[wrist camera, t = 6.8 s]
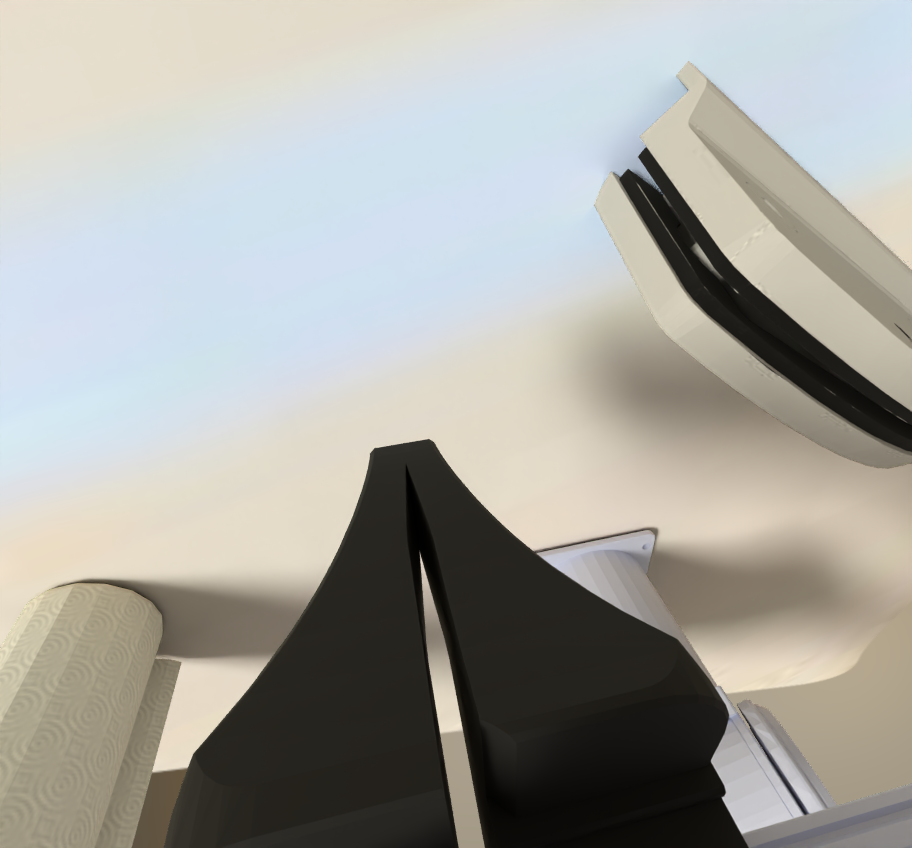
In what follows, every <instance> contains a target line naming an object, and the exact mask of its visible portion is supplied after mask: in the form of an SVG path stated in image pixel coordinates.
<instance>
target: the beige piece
mask: <svg viewBox="0 0 912 848" xmlns="http://www.w3.org/2000/svg"><path fill="white" fill-rule="evenodd" d="M676 76H677V77H678V79H679V80H680V81H681V82H682V83H683V84H684V85H685V86H686V88H687V89H688V90H689V91H688V92H687V93H686V94H685V95H684V96H683V97H682V98H681V99H680V100H678V101H677V102H676V103H675V104H674V105H673V106H672V107H671V108H670V109H669V110H668V111H667V112H666V113H664V114H663V115H662V116H661V117H660V118H659V119H658V120H657V121H656V122H655V123H654V124H653V125H652V126H650V127H649V128H648V129H647V130H646V131H645V132H644V133H643V134H642V135H641V136H640V138H641V140H642V141H643V143H644V144H645V145H646V148H645V149H644V150H643V151H642V152H641V154H640V155H639V156H638V157H639V159H640V160H641V162H642V163H643V165H644V166H645V168H646V169H647V171H648V172H649V174H650V175H651V176H652V178H653V179H654V181H655V182H656V184H657V185H658V187H659V188H660V190H661V191H662V193H663V194H664V195H663V196H662V195H661V193H660V192H658V191H657V190H656V189H654V188H653V187H652V186H650V185H649V184H648V183H646V182H645V181H644V180H642V179H641V178H640V177H638V176H637V175H636V174H634V173H633V172H632V171H630V170H629V169H627V170H626V172H625V173H624V174H623V175H622V176H621V177H618V176H617V175H615V174H614V173H613V172H610V174H609V175H608V177H607V179H606V181H605V182H604V184H603V186H602V188H601V189H600V191H599V194H598V196H597V199H596V201H595V204H594V206H595V208H596V210H597V211H598V213H599V215H600V217H601V219H602V221H603V223H604V225H605V227H606V229H607V230H608V232H609V234H610V236H611V238H612V240H613V242H614V244H615V246H616V247H617V249H618V251H619V253H620V255H621V257H622V259H623V261H624V263H625V265H626V266H627V268H628V270H629V272H630V274H631V276H632V278H633V280H634V282H635V284H636V285H637V287H638V289H639V291H640V293H641V295H642V297H643V299H644V301H645V303H646V304H647V306H648V308H649V310H650V312H651V314H652V316H653V318H654V319H655V321H656V323H657V324H658V325H659V326H660V328H661V329H662V330H663V331H664V332H665V334H666V335H667V336H668V337H669V338H670V339H671V340H672V341H674V342H675V343H676V344H677V345H678V346H680V347H681V348H682V349H683V350H685V351H686V352H687V353H688V354H689V355H691V356H692V357H693V358H694V359H696V360H697V361H698V362H699V363H701V364H702V365H703V366H704V367H706V368H707V369H708V370H709V371H711V372H712V373H713V374H715V375H716V376H717V377H719V378H720V379H721V380H722V381H724V382H725V383H726V384H728V385H729V386H730V387H732V388H733V389H734V390H736V391H737V392H739V393H740V394H741V395H743V396H744V397H746V398H747V399H749V400H750V401H751V402H753V403H754V404H756V405H757V406H759V407H760V408H762V409H763V410H764V411H766V412H767V413H769V414H770V415H772V416H773V417H774V418H776V419H777V420H779V421H780V422H782V423H783V424H785V425H787V426H788V427H790V428H792V429H793V430H795V431H797V432H798V433H800V434H802V435H803V436H805V437H807V438H809V439H810V440H812V441H814V442H815V443H817V444H819V445H820V446H822V447H824V448H826V449H828V450H830V451H832V452H834V453H836V454H838V455H840V456H843V457H845V458H848V459H850V460H853V461H856V462H858V463H861V464H864V465H867V466H871V467H876V468H893V467H898V466H902V465H906V464H911V463H912V270H911V269H910V268H909V267H908V266H906V265H905V264H904V263H903V262H902V261H901V260H900V259H899V258H898V257H897V256H896V255H895V254H894V253H893V252H892V251H891V250H889V249H888V248H887V247H886V246H885V245H884V244H883V243H882V242H881V241H880V240H879V239H878V238H877V237H876V236H875V235H873V234H872V233H871V232H870V231H869V230H868V229H867V228H866V227H865V226H864V225H863V224H862V223H861V222H860V221H859V220H858V219H856V218H855V217H854V216H853V215H852V214H851V213H850V212H849V211H848V210H847V209H846V208H845V207H844V206H843V205H842V204H841V203H839V202H838V201H837V200H836V199H835V198H834V197H833V196H832V195H831V194H830V193H829V192H828V191H827V190H826V189H825V188H823V187H822V186H821V185H820V184H819V183H818V182H817V181H816V180H815V179H814V178H813V177H812V176H811V175H810V174H809V173H808V172H806V171H805V170H804V169H803V168H802V167H801V166H800V165H799V164H798V163H797V162H796V161H795V160H794V159H793V158H792V157H790V156H789V155H788V154H787V153H786V152H785V151H784V150H783V149H782V148H781V147H780V146H779V145H778V144H777V143H776V142H775V141H773V140H772V139H771V138H770V137H769V136H768V135H767V134H766V133H765V132H764V131H763V130H762V129H761V128H760V127H759V126H758V125H756V124H755V123H754V122H753V121H752V120H751V119H750V118H749V117H748V116H747V115H746V114H745V113H744V112H743V111H742V110H740V109H739V108H738V107H737V106H736V105H735V104H734V103H733V102H732V101H731V100H730V99H729V98H728V97H727V96H726V95H725V94H723V93H722V92H721V91H720V90H719V89H718V88H717V87H716V86H715V85H714V84H713V83H712V82H711V81H710V80H709V79H707V78H706V77H705V76H704V75H703V74H702V73H701V72H700V71H699V70H698V69H697V68H696V67H695V66H694V65H693V64H692V63H690V62H689V61H688V62H687V63H686V64H685V65H684V67H683V68H682V69H681V70H680V72H679V73H678V74H677V75H676Z"/></svg>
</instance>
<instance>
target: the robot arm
mask: <svg viewBox="0 0 912 848" xmlns="http://www.w3.org/2000/svg"><path fill="white" fill-rule="evenodd" d="M654 542H655V535H654V534H653V532H652V531H650V530H645V531H640V532H635V533H630V534H625V535H621V536H616V537H611V538H606V539H601V540H597V541H592V542H587V543H582V544H577V545H573V546H568V547H563V548H558V549H554V550H549V551H544V552H539V553H535V552H534V551H532V550H531V549H530V548H529V547H527V546H526V545H525V544H524V543H523V542H522V541H520V540H519V539H518V538H517V537H516V536H514V535H513V534H512V533H511V532H510V531H509V530H508V529H507V528H505V527H504V526H503V525H502V524H501V523H500V522H499V521H498V520H497V519H496V518H495V517H494V516H493V515H492V514H491V513H490V512H489V511H488V510H487V509H486V508H485V507H484V506H483V505H482V504H481V503H480V502H479V501H478V500H477V499H476V497H475V496H474V495H473V494H472V493H471V492H470V491H469V489H468V488H467V487H466V486H465V485H464V484H463V483H462V481H461V480H460V479H459V478H458V477H457V475H456V474H455V473H454V471H453V470H452V469H451V467H450V466H449V465H448V464H447V462H446V461H445V459H444V458H443V456H442V455H441V453H440V452H439V450H438V448H437V447H436V445H435V443H434V442H433V441H431V440H430V439H427V440H421V441H415V442H409V443H403V444H397V445H391V446H386V447H380V448H374V450H373V451H372V452H371V453H370V460H369V465H368V470H367V474H366V478H365V482H364V485H363V489H362V492H361V495H360V497H359V500H358V503H357V506H356V509H355V512H354V514H353V517H352V519H351V522H350V524H349V526H348V529H347V531H346V533H345V536H344V538H343V540H342V542H341V545H340V547H339V549H338V551H337V553H336V555H335V557H334V559H333V561H332V563H331V565H330V567H329V569H328V571H327V573H326V575H325V577H324V578H323V580H322V582H321V584H320V586H319V587H318V589H317V591H316V593H315V594H314V596H313V597H312V599H311V601H310V602H309V604H308V606H307V607H306V609H305V610H304V612H303V614H302V615H301V617H300V618H299V620H298V622H297V623H296V625H295V626H294V628H293V629H292V631H291V632H290V634H289V635H288V636H287V638H286V639H285V641H284V642H283V643H282V645H281V646H280V647H279V649H278V650H277V652H276V653H275V654H274V656H273V657H272V658H271V660H270V661H269V662H268V664H267V665H266V666H265V668H264V669H263V671H262V672H261V673H260V675H259V676H258V677H257V679H256V680H255V681H254V683H253V684H252V685H251V686H250V688H249V689H248V690H247V691H246V693H245V694H244V695H243V696H242V698H241V699H240V700H239V701H238V702H237V703H236V705H235V706H234V707H233V708H232V709H231V711H230V712H229V713H228V714H227V715H226V716H225V718H224V719H223V720H222V721H221V722H220V723H219V725H218V726H217V727H216V728H215V729H214V731H213V732H212V733H211V734H210V735H209V736H208V738H207V739H206V740H205V741H204V742H203V743H202V745H201V746H200V747H199V748H198V749H197V750H196V751H195V753H194V754H193V756H192V759H191V761H190V764H189V767H188V769H187V772H186V775H185V778H184V780H183V783H182V786H181V789H180V792H179V796H178V798H177V801H176V804H175V807H174V810H173V813H172V816H171V820H170V824H169V827H168V832H167V836H166V841H165V845H164V848H458V842H457V836H456V829H455V823H454V817H453V811H452V805H451V798H450V792H449V786H448V780H447V774H446V768H445V762H444V755H443V749H442V743H441V737H440V731H439V725H438V718H437V712H436V706H435V700H434V694H433V688H432V681H431V675H430V669H429V663H428V654H427V645H426V633H425V619H424V605H423V591H422V577H421V564H420V554H421V558H422V561H423V565H424V568H425V572H426V575H427V579H428V582H429V586H430V589H431V593H432V596H433V600H434V603H435V607H436V610H437V614H438V617H439V621H440V624H441V628H442V631H443V635H444V638H445V642H446V646H447V651H448V655H449V659H450V664H451V669H452V675H453V680H454V685H455V690H456V696H457V701H458V706H459V711H460V717H461V722H462V727H463V733H464V737H465V743H466V749H467V754H468V759H469V764H470V770H471V775H472V781H473V786H474V791H475V796H476V802H477V807H478V812H479V818H480V824H481V829H482V835H483V840H484V845H485V848H912V784H908V785H905V786H902V787H898V788H895V789H892V790H888V791H885V792H881V793H878V794H874V795H871V796H868V797H864V798H861V799H858V800H854V801H851V802H847V803H844V804H841V805H837V804H836V803H835V801H834V800H833V798H832V797H831V795H830V794H829V792H828V791H827V789H826V788H825V786H824V785H823V784H822V782H821V780H820V779H819V777H818V776H817V775H816V773H815V772H814V770H813V769H812V767H811V766H810V765H809V763H808V762H807V760H806V759H805V757H804V756H803V755H802V753H801V752H800V750H799V749H798V747H797V746H796V745H795V743H794V742H793V741H792V739H791V738H790V736H789V735H788V734H787V732H786V731H785V730H784V728H783V727H782V726H781V724H780V723H779V722H778V720H777V719H776V718H775V717H774V716H773V714H772V713H771V712H770V711H769V710H768V709H767V708H765V707H763V706H760V705H758V704H753V703H752V702H751V701H750V700H747V699H745V700H743V701H742V702H740V703H738V704H737V706H738V708H739V710H740V711H741V713H742V715H743V716H744V718H745V719H746V721H747V723H748V724H749V726H750V729H751V731H752V733H753V734H754V736H755V738H756V739H757V741H758V742H759V744H760V746H761V747H762V749H763V750H764V752H765V753H764V752H763V750H762V749H761V747H760V746H759V744H758V743H757V741H756V740H755V738H754V737H753V735H752V734H751V732H750V730H749V729H748V727H747V726H746V724H745V723H744V721H743V720H742V719H741V717H740V715H739V714H738V712H737V711H736V709H735V708H734V706H733V704H732V703H731V701H730V700H729V699H728V697H727V695H726V694H725V692H724V691H723V689H722V687H721V686H717V684H716V683H715V681H714V680H713V678H712V677H711V675H710V673H709V672H708V670H707V669H706V667H705V666H704V664H703V663H702V661H701V659H700V658H699V656H698V655H697V653H696V652H695V650H694V648H693V647H692V645H691V644H690V642H689V641H688V639H687V638H686V636H685V634H684V633H683V631H682V630H681V628H680V627H679V625H678V624H677V622H676V620H675V619H674V617H673V616H672V614H671V613H670V611H669V610H668V608H667V606H666V605H665V603H664V602H663V600H662V599H661V597H660V596H659V594H658V592H657V591H656V589H655V588H654V586H653V585H652V583H651V582H650V580H649V578H648V577H647V571H648V567H649V563H650V559H651V555H652V550H653V546H654ZM419 550H420V551H419ZM765 754H766V755H767V756H766V755H765Z"/></svg>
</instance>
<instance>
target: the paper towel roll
mask: <svg viewBox="0 0 912 848" xmlns="http://www.w3.org/2000/svg"><path fill="white" fill-rule="evenodd" d="M162 635H163V624H162V615H161V613H160V612H159V611H158V609H157V608H156V607H155V606H154V604H153V603H152V602H151V601H149V600H148V599H146V598H144V597H142V596H141V595H139V594H137V593H135V592H134V591H132V590H128V589H124V588H120V587H116V586H112V585H108V584H89V583H75V584H70V585H66V586H62V587H57V588H53V589H49V590H47V591H46V592H44V593H42V594H41V595H39V596H38V597H36V598H34V599H33V600H31V601H30V602H29V603H27V604H26V606H25V608H24V609H23V611H22V613H21V614H20V616H19V617H18V619H17V621H16V622H15V624H14V626H13V627H12V629H11V631H10V632H9V634H8V636H7V637H6V639H5V641H4V642H3V644H2V646H1V647H0V848H131V847H132V844H133V840H134V836H135V832H136V829H137V825H138V821H139V818H140V814H141V810H142V806H143V803H144V799H145V795H146V792H147V788H148V784H149V781H150V777H151V773H152V770H153V766H154V762H155V758H156V755H157V751H158V747H159V744H160V740H161V736H162V733H163V729H164V725H165V721H166V718H167V714H168V710H169V707H170V703H171V699H172V695H173V692H174V688H175V684H176V681H177V677H178V673H179V670H180V666H181V662H179V661H175V660H170V659H155V657H156V654H157V651H158V648H159V644H160V641H161V638H162Z"/></svg>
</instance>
